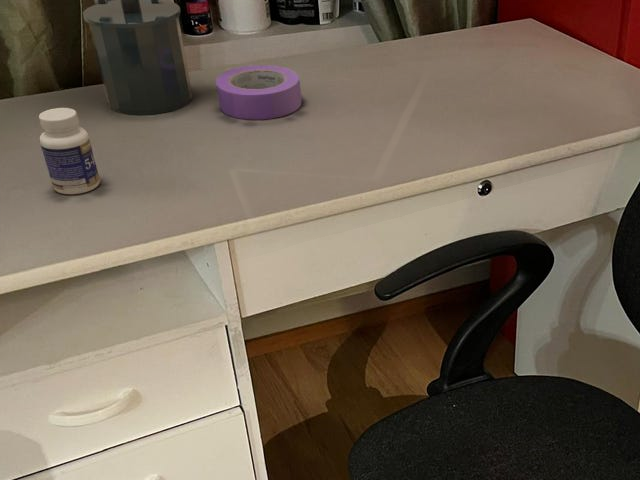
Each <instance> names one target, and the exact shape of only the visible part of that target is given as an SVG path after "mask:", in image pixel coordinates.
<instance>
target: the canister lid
mask: <svg viewBox="0 0 640 480" xmlns="http://www.w3.org/2000/svg"><path fill="white" fill-rule="evenodd" d="M180 15H181V8H180V6H179V5H178V3H175V2H173V1H170V0H164V3H163V4H152V3H151V0H108V3H107V4H93V5H91V6H89V7H87V8H86V9H84V11H83V12H82V16H83V20H84V21H85V22H86V23H87V24H88V23H89V24H92V25H95V26H100V27H106V28H139V27H147V26H153V25H158V24H162V23H166V22H168V21H171V20H173V19H175V18H177V17H178V18H179V16H180ZM89 24H88V25H89Z"/></svg>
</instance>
